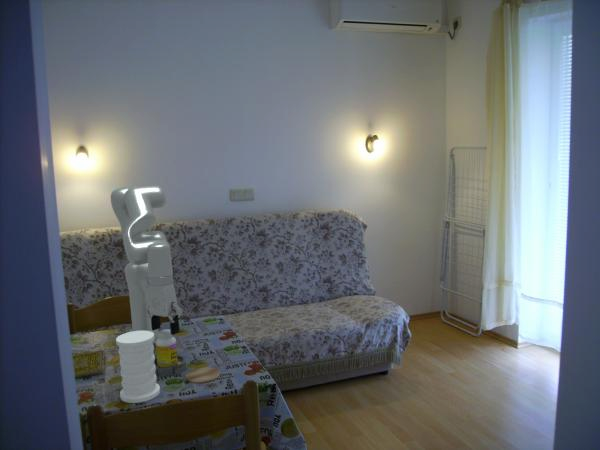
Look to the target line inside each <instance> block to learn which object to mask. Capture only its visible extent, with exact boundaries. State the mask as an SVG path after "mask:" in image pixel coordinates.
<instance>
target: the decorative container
mask: <svg viewBox="0 0 600 450" xmlns="http://www.w3.org/2000/svg"><path fill="white" fill-rule="evenodd" d="M154 338H155V337H154V333H153V332H151V331H132V332H129V331H128V332H125V333H122V334H120V335H118V336H116V339H115V341H116V343H115V344H116V346H118V347H119V348H118V354H119V355H118V356H119V359H120V360H119V366H120V377H121V387H122V389H121V390H120V392H119V398H120V400H121V401H123V402H124V403H128V404H138V403H144V402H148V401H150V400H153V399H154V398H157V396H159V395H160V393H161V386H160V384H159V383H157V379H158V378H157V377H158V376H156V374H155V370H156V367H157V366H156V367H155V364H154V361H155V358H156V356H155V354H154V350H155V344H153V343H152V341H153V340H154Z"/></svg>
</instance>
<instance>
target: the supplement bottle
mask: <svg viewBox="0 0 600 450" xmlns="http://www.w3.org/2000/svg"><path fill="white" fill-rule="evenodd" d="M158 331H159V332H158V336H159V339H158V340H157V341H156V343H155V350H156V357H157V364H158V366H157V367H159V368H160V367H171V366H174V365H175V363H177V362H178V357H177V354H178V346H177V339H176V337H174V336H173V335H171V331H170V328H169V329H168V328H167V329H166V328H165V329H161V330H158Z"/></svg>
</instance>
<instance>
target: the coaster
mask: <svg viewBox="0 0 600 450" xmlns="http://www.w3.org/2000/svg"><path fill="white" fill-rule="evenodd" d="M220 376H221V370H220V369H218V368H216V367H209V366H205V367H204V366H203V367H198V368H194V369H192V370H189V372H187V373H186V374H185V379H186V381H187V382H189V383H193V384H206V383H211V382H213V381H216V380H218V379H219V378H220Z"/></svg>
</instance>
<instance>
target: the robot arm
mask: <svg viewBox="0 0 600 450" xmlns="http://www.w3.org/2000/svg"><path fill="white" fill-rule="evenodd" d="M166 202H167V196H166V193H165V191H164V189H163V188H162V187H161V186H160V185H141V186H139V185H137V186H127V187H126V186H124V187H119V188H116V189H114V190H112V192H111V193H110V203H111V207H112V210H113V213H114V215H115V217H116V218H117V220H118V222H119V225H120V229H121V236H122V240H123V241H122V242H123V248H124V250H125V251H124V252H125V254H126V258H127V260H128V262H129V263H127V264H126V265H125V267H124V275H125V280H126V283H127V284H126V285H127V288H128V295H129V305H130V316H131V327H132V328H131V329H130V328H129V330H128V332H132V331H151V332H153V333H154V337H155V338H154V340H153V341H152V343H153V345H156V341H157V340H158V339H159V336H158V332H159V331H160V330H159V329H161V317H162V318H168V319H169V321H170V323H169V329H170V331H171V335H172V336H174V335H176V334H179V333H180V332H181V331H180V330H181V329H180V320H181V318H182V313H183V309H182V308H181V307H180V306H179V305H178V300H177V299H178V297H177V293H176V289H175V284H174V276H173V275H174V274H173V264H172V253H171V246H170V244H169V243H168V240H167V238H166V235H165V234H164V232H162V231H160V230H154V231H153V230H152V231H147V230H149V229H150V228H152V227H153V226H154V225H155V224H156V220H157V218H156V215H155V211H154V209H158V208H160V209H161V208H164V207H165V204H166Z"/></svg>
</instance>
